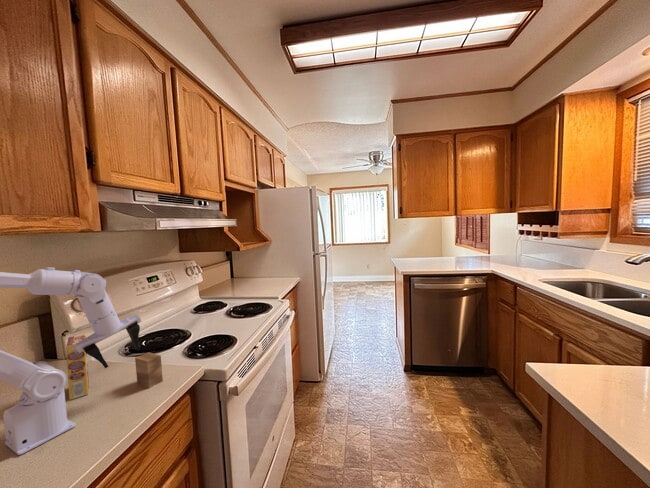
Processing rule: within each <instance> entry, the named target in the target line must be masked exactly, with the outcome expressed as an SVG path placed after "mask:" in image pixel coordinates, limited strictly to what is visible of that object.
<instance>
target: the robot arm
mask: <svg viewBox="0 0 650 488" xmlns="http://www.w3.org/2000/svg"><path fill="white" fill-rule="evenodd" d="M106 286H107V280H106V278H105V279H104V278H103V276H101V275H100V274H98V273H93V272H84V271H81V270H80V269H73V271H69V270H58V269H57V270H56V267H50V266H46V267H45V269H44V268H39V269H37V270H34V271H33V272H31V273H27V274H26V273H17V272H16V273H15V272H7V271H5V272H3V271H0V289H25V290H28V292H30V294H32V295H34V296H35V295H37V296H38V295H43V296H44V295H45V296H46V295H47V296H70V295H75V296H76V297H77V300H78V302H79V303H80V307H81V309H82V310H83V313H84V314H85V317H86V318H87V320H88V323H89V324H90V326H91V329H92V331H93V333H91V334H90V335H89V336H86V338H85V339H83V340H82V341H80V342H78V343H76V344H74V345H75V347H76V349H77V351H78V352H79V353H80V352H82V351H85V352H86V354H87V356H90V357H92V358H94V359H95V360H97V362H99V363H101V365H102V367H104V369H107V368H109V365H108V363H107V361H106V360H105V359H104V357H103V354H102V353H101V351H100V348H99V347H98V345H97V344H98V343H100V342H101V341H103V340H104V341H105V339H107V338H110V337H112V336H114V335H116V334H117V333H119V332H122V331H123V330H126V332H127V334H128V336H129V338H130V341H131V343H132V346H133V348H134V349H135V350H136V351H139V350H140V342H139V335H140V330H141V327H140V323H142V322H143V321H142V318H141V317H140V315H138V314H135V315H133V316H131V317H128V318H124V319H122V320H120V319H119V316H118V314H117V312H116V310H115V308H114V305H113V303H112V301H111V299H110V296H109V295H108V293H107V291H106ZM0 381H2V382H5V383H7V384H9V385H10V386H13V387H14V388H17V389H19V390H21V391H22V393H21V395H20V396H19V399H18V402H17V403H16V404H15V405H13V406H12V407H9V408H7V409H5V410H4V412H3V426H4V428H3V429H4V437H5V442H4V444H5V446H7V447H8V448H9V449H11V451H13V452H14V453H15V454H16V455H17V456H21V455H23V454H25V453H28V452H29V451H31V450H33V449H35V448H36V447H39V446H40V445H42V444H44V443H47V442H48V441H50V440H52V439H54V438H55V437H57V436H59V435H61V434H63V433H65V432H67V431H69V430H71V429H72V428H74V427H76V423H75V422H74V421H71V420H70V419H69V418H68V416H67V415H68V414H67V413H68V412H67V405H66V394H65V386H66V384H67V381H68V377H67V375H66V373H65V372H64V371H62V370H61V369H57V368H56V367H54V366H52V365H51V364H50V363H49V362H46V361H31V360H29V359H26V358H23V357H19V356H17V355H15V354H13V353H10V352H7V351H4V349H3V350H2V349H0Z"/></svg>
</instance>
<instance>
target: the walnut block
mask: <svg viewBox="0 0 650 488" xmlns="http://www.w3.org/2000/svg"><path fill="white" fill-rule="evenodd" d="M134 360H135V374H136V383H137V384H136V385H140V386H143V387H145V388H148V389H151V388H152V387H155V386H157V385H159V384H160V383H162V382H163V381H164V380H163V367H162V355H160V354H156V353H152V352H146V353H144V354H141V355H139V356H136V357H135V358H134ZM154 385H155V386H154Z"/></svg>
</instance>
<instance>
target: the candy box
mask: <svg viewBox="0 0 650 488" xmlns="http://www.w3.org/2000/svg"><path fill="white" fill-rule="evenodd" d="M85 338H87V335H86V333H85V334H77V335H73V336H70V337H68V338H67V342H66V346H65V347H66V348H65V349H66V365H67V382H68V397H69V399H68V400H74V399H78V398H80V397H85V396H88V395H89V383H90V379H89V378H90V377H89V363H88V362H89V361H88V354H86V352H85V351H82V352H80V353H79V352H78V351H77V349H76V347H75V345H74V344H76V343H78V342H80V341H82V340H83V339H85Z"/></svg>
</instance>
